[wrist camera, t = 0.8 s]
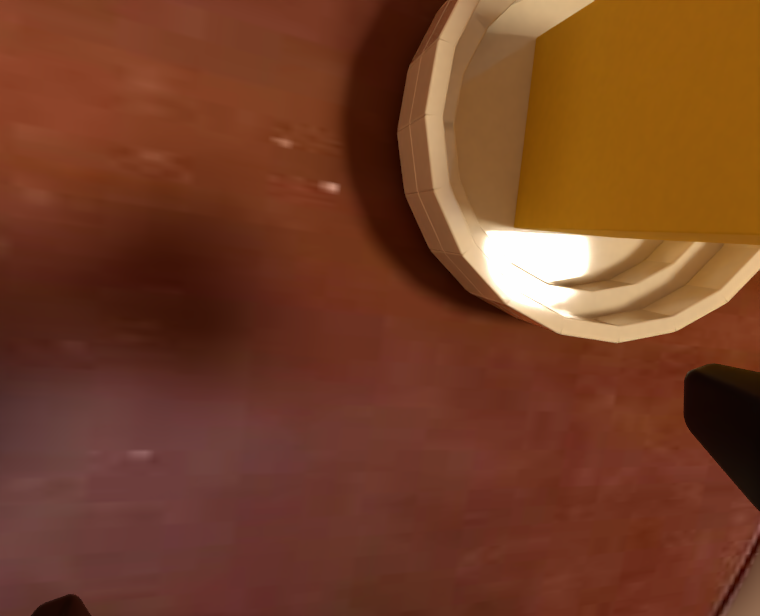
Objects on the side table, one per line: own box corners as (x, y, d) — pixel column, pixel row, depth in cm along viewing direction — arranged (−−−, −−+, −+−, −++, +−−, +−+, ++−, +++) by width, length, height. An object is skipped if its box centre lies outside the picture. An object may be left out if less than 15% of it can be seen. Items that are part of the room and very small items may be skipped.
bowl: (768, 227, 26) (859, 229, 22) (486, 382, 24) (531, 413, 20) (663, -112, 23) (748, -180, 19) (330, 38, 21) (348, -3, 17)
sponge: (616, 237, 24) (961, 255, 12) (513, 227, 23) (780, 235, 11) (642, 56, 23) (1038, -110, 11) (535, 37, 22) (850, -165, 10)
